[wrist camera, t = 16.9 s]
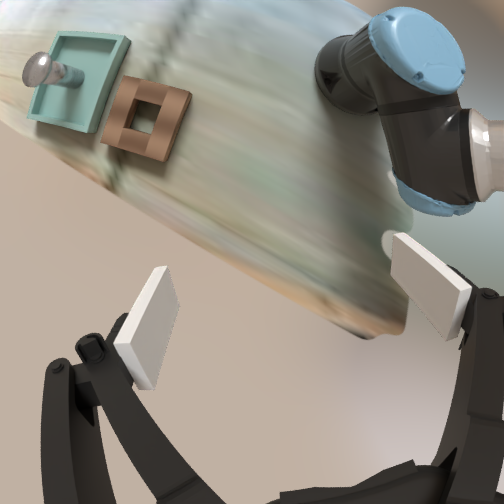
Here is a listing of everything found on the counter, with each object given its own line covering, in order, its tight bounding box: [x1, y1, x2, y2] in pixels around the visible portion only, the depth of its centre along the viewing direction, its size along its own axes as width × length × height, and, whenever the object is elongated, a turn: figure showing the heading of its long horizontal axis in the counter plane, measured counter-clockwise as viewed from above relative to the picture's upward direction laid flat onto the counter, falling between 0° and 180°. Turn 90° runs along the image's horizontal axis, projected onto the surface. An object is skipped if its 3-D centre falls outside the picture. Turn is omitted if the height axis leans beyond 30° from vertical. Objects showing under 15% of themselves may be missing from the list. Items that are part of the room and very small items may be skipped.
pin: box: [22, 52, 85, 89], centre depth 31 cm, size 6×6×13 cm
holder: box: [100, 75, 192, 162], centre depth 41 cm, size 12×12×3 cm
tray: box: [27, 31, 131, 133], centre depth 36 cm, size 18×16×4 cm
